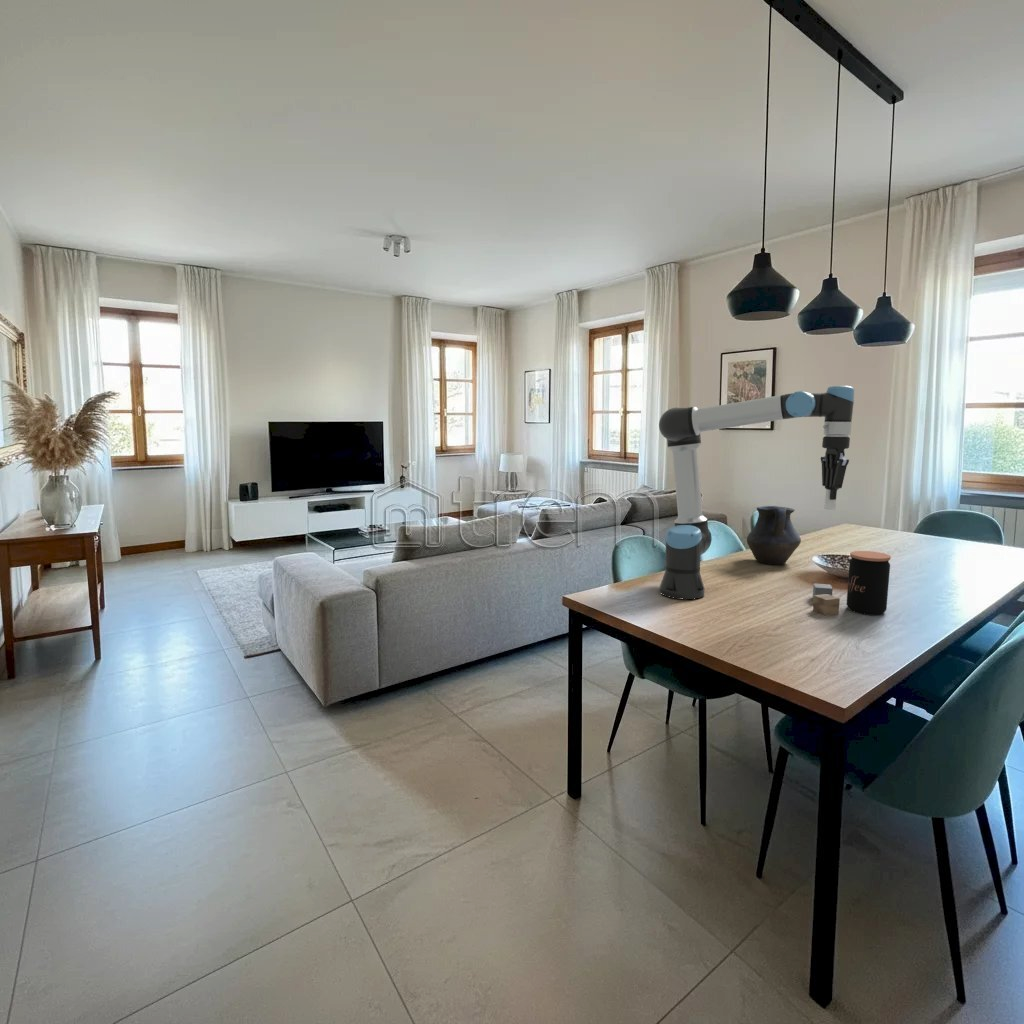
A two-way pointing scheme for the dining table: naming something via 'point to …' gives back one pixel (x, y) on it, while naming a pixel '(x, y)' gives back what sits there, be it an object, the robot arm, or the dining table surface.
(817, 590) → the grey cube
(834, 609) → the walnut block
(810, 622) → the dining table surface
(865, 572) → the coffee jar
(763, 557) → the pitcher
